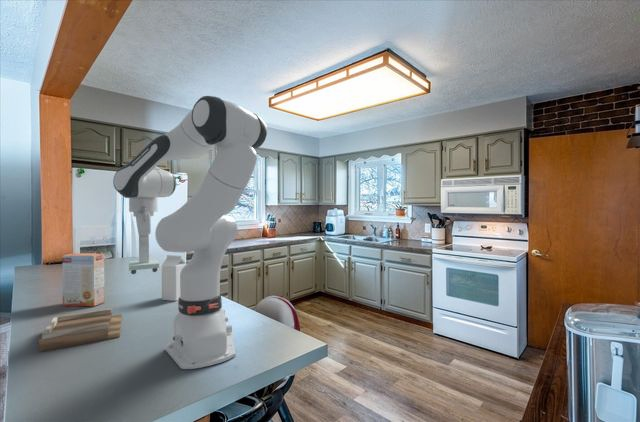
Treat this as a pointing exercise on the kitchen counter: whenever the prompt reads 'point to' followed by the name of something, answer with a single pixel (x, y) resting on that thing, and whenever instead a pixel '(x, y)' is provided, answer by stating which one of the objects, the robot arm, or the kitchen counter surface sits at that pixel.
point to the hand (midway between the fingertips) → (144, 245)
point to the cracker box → (83, 279)
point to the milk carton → (171, 277)
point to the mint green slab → (143, 259)
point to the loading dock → (80, 329)
